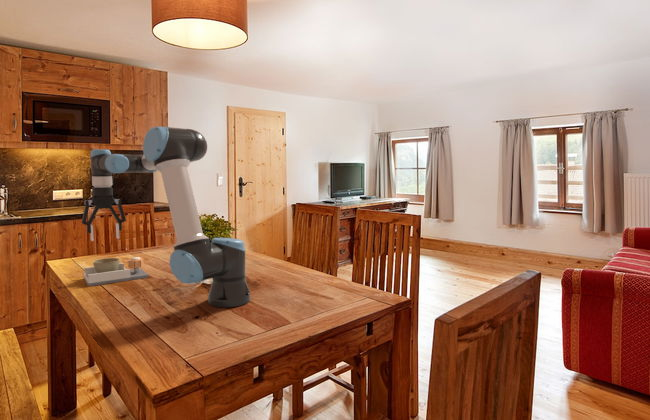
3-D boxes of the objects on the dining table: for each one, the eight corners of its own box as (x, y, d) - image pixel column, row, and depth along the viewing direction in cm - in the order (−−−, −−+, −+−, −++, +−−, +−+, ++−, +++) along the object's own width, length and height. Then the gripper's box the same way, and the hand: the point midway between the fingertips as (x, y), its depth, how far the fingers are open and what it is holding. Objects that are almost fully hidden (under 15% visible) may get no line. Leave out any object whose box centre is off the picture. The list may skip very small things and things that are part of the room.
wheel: (145, 266, 181) (144, 258, 180) (130, 268, 177) (129, 260, 177) (141, 264, 186) (141, 255, 185) (127, 265, 182) (126, 257, 182)
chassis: (148, 277, 178) (147, 267, 178) (88, 286, 164) (87, 275, 164) (140, 270, 189) (140, 260, 189) (83, 278, 176) (83, 267, 175)
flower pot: (124, 273, 180) (123, 257, 179) (112, 280, 170) (111, 263, 169) (102, 273, 180) (101, 257, 179) (88, 279, 170) (87, 262, 169)
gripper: (128, 185, 180) (131, 235, 182) (71, 186, 167) (74, 240, 169) (132, 186, 174) (134, 238, 176) (73, 187, 161) (76, 243, 163)
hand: (105, 239), depth 173 cm, fingers open, 9 cm apart
